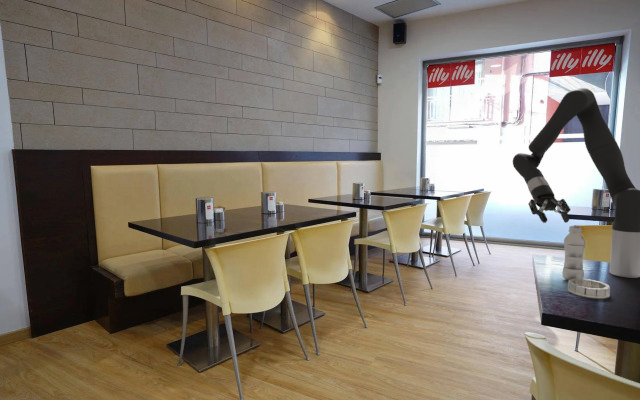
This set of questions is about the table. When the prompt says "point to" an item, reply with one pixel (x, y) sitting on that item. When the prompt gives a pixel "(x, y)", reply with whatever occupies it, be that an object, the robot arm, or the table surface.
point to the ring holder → (589, 288)
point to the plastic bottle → (574, 254)
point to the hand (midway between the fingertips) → (556, 221)
